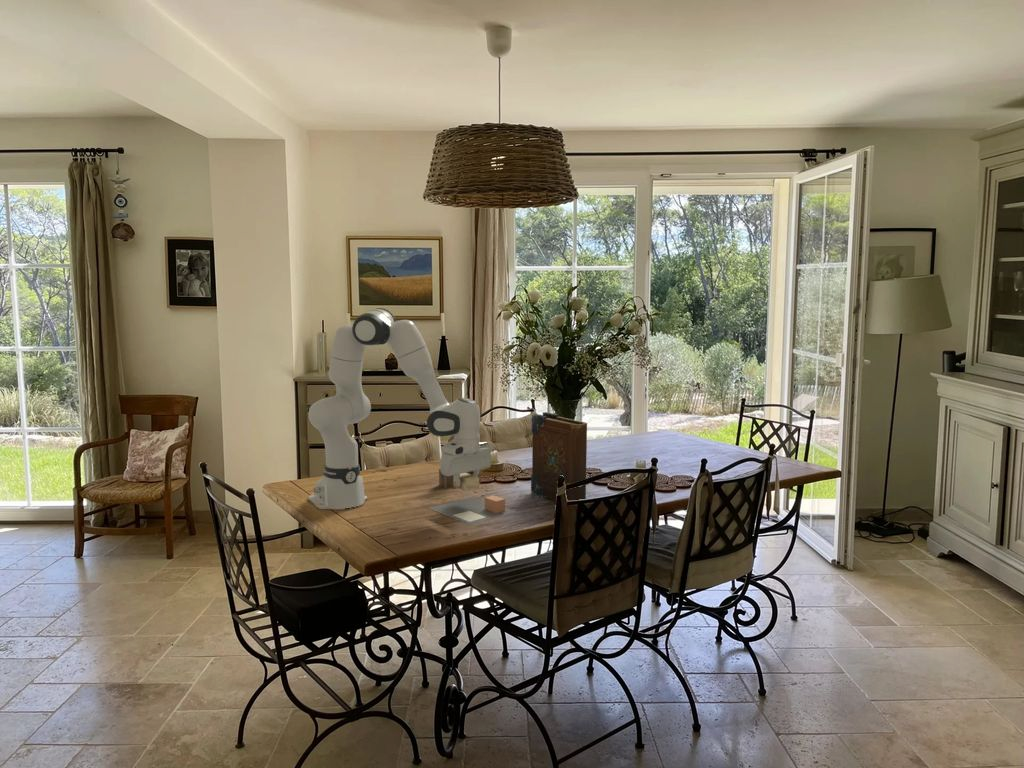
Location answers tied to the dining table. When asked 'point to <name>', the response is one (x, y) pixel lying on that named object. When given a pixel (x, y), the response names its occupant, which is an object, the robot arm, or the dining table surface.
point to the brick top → (495, 504)
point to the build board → (469, 510)
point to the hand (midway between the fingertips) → (466, 484)
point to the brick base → (468, 482)
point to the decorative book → (558, 455)
